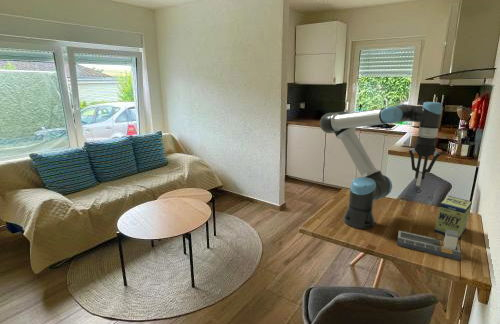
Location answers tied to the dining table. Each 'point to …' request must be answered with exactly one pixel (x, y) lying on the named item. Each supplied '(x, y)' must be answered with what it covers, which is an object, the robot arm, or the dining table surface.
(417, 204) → the dining table surface
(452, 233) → the fader knob
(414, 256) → the dining table surface
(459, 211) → the protein box
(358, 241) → the dining table surface
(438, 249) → the console board
